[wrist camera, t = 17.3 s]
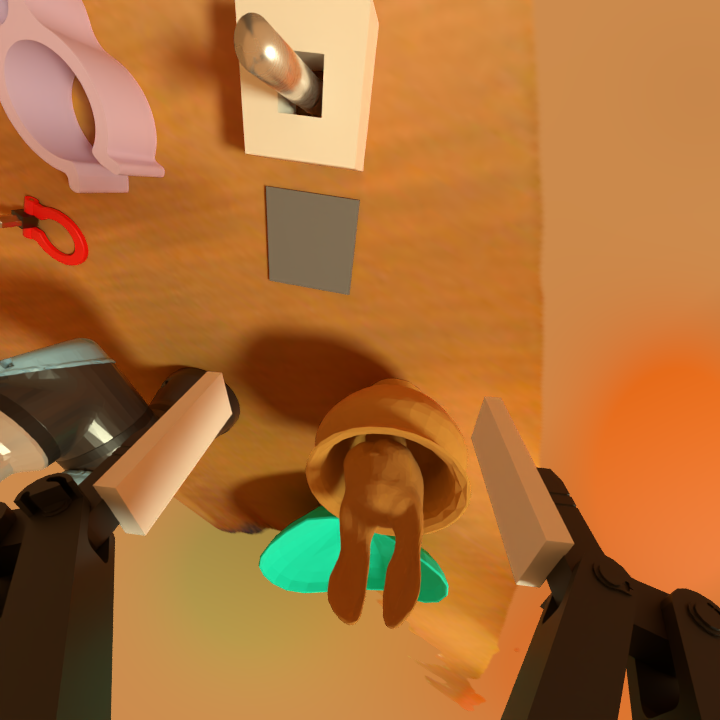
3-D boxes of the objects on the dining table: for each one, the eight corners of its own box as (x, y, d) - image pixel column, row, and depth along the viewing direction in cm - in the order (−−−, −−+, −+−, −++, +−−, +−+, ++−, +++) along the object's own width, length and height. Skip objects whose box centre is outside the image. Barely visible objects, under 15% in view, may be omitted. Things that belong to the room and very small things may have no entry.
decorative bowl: (444, 336, 43) (479, 553, 17) (467, 440, 52) (514, 683, 26) (317, 365, 49) (208, 552, 24) (358, 452, 58) (310, 656, 33)
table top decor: (432, 474, 58) (435, 543, 46) (452, 552, 70) (458, 621, 59) (263, 481, 69) (232, 538, 58) (305, 547, 81) (287, 605, 70)
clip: (-3, 2, 32) (-96, -40, 27) (72, -60, 29) (-16, -124, 23) (113, 199, 41) (62, 200, 36) (181, 169, 38) (137, 165, 32)
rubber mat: (270, 279, 43) (269, 280, 43) (267, 186, 37) (265, 186, 37) (349, 294, 42) (348, 294, 42) (359, 200, 36) (359, 200, 35)
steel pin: (303, 115, 33) (236, 72, 21) (303, 79, 31) (231, 10, 19) (328, 118, 32) (276, 76, 20) (330, 82, 31) (274, 14, 19)
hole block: (266, 157, 35) (245, 153, 31) (260, 12, 29) (233, -18, 25) (362, 171, 34) (354, 168, 30) (378, 24, 28) (371, -6, 24)
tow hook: (94, 232, 45) (32, 189, 43) (-5, 250, 34) (-96, 193, 32) (86, 274, 49) (29, 236, 47) (-5, 301, 38) (-85, 254, 36)
